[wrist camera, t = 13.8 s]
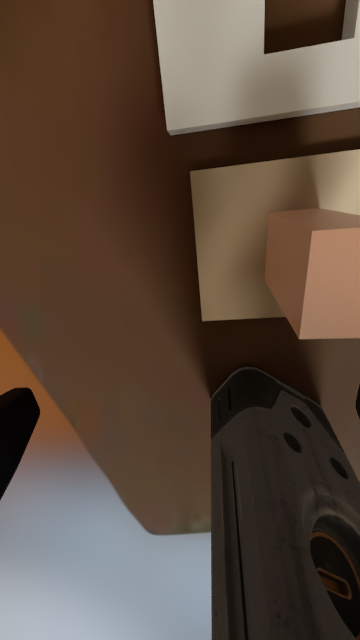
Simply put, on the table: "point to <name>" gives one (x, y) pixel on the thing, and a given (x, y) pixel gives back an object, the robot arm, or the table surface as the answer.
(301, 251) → the plug
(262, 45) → the white slotted plate
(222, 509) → the electronic device
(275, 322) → the table surface
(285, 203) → the pad
